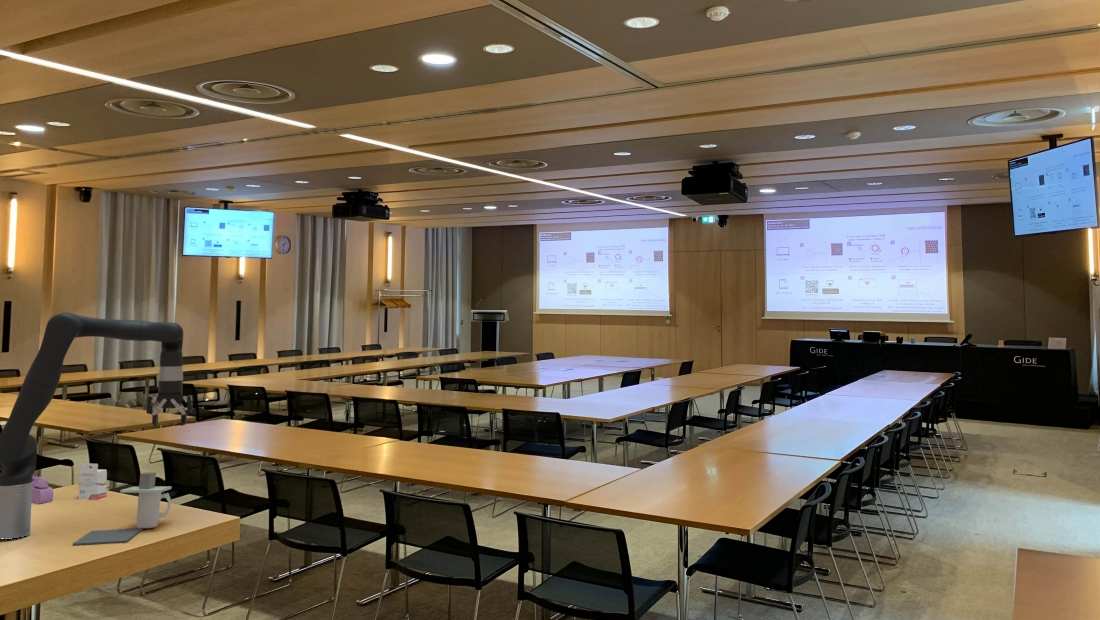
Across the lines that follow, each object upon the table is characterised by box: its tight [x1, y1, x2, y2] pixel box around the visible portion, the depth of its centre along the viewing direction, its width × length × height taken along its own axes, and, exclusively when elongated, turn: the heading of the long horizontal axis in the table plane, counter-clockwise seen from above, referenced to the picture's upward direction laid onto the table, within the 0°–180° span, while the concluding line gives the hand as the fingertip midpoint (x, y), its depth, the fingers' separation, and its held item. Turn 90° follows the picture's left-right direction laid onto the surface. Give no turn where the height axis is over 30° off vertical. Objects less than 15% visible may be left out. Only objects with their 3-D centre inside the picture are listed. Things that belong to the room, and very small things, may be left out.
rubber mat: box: [72, 527, 144, 547], centre depth 224 cm, size 15×15×1 cm
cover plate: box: [119, 471, 172, 494], centre depth 236 cm, size 12×12×6 cm
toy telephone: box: [31, 476, 54, 505], centre depth 273 cm, size 18×6×10 cm, turn 68°
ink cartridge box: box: [78, 462, 108, 501], centre depth 277 cm, size 9×5×15 cm, turn 81°
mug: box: [135, 492, 172, 529], centre depth 237 cm, size 10×7×12 cm, turn 120°
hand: (169, 425), depth 246 cm, fingers open, 8 cm apart
